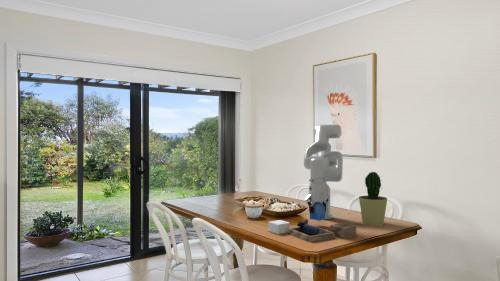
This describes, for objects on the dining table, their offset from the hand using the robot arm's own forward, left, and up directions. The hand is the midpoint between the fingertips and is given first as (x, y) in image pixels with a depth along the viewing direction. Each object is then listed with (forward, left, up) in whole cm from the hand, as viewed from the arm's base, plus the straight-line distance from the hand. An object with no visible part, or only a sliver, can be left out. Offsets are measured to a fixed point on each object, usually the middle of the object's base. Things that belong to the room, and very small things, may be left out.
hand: (317, 211), depth 202 cm
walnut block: (+22, -2, -8) cm, 23 cm away
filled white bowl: (-38, -19, -8) cm, 43 cm away
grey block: (-1, -25, -8) cm, 26 cm away
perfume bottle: (0, 0, -4) cm, 4 cm away
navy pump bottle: (+12, -14, -8) cm, 21 cm away
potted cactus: (+11, +31, -8) cm, 34 cm away
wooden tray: (+14, -16, -8) cm, 22 cm away
